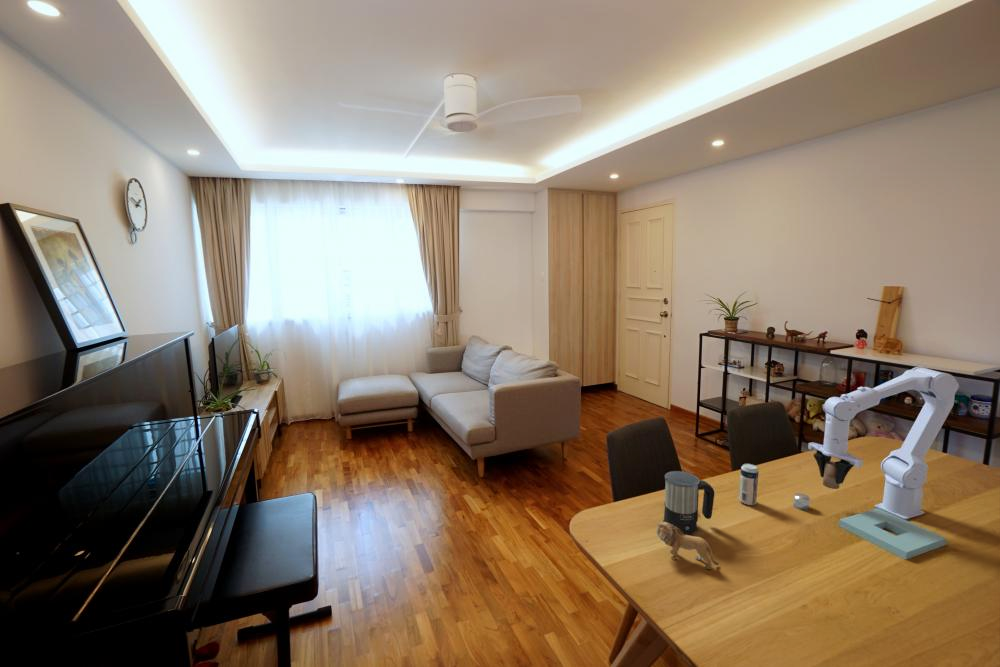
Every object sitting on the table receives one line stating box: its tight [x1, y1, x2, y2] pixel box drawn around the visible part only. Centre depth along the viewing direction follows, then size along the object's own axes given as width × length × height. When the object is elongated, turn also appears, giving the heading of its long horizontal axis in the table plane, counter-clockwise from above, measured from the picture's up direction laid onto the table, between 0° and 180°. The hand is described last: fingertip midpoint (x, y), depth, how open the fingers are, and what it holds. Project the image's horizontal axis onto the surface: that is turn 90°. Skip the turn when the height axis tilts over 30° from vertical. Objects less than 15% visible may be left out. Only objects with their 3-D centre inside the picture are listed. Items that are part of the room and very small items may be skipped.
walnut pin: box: [822, 460, 840, 490], centre depth 135 cm, size 4×4×7 cm
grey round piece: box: [792, 492, 811, 511], centre depth 137 cm, size 4×4×4 cm
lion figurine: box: [656, 521, 720, 570], centre depth 112 cm, size 15×5×9 cm, turn 69°
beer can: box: [738, 463, 760, 506], centre depth 139 cm, size 5×5×12 cm
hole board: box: [838, 507, 947, 560], centre depth 122 cm, size 17×16×2 cm
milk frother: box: [662, 470, 715, 536], centre depth 130 cm, size 14×16×15 cm
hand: (831, 479), depth 136 cm, fingers closed on walnut pin, 4 cm apart
